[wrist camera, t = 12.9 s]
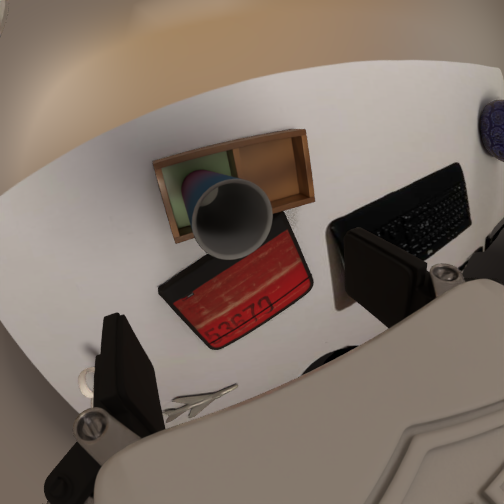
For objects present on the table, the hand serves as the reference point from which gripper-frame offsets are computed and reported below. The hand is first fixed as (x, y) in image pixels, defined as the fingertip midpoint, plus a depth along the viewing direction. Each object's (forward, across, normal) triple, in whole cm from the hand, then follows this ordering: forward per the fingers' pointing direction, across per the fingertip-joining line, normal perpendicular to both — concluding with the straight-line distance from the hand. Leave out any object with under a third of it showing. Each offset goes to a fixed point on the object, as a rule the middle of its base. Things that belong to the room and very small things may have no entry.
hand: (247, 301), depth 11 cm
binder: (+29, -6, +18) cm, 35 cm away
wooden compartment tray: (+29, -8, +2) cm, 30 cm away
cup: (+28, -3, +2) cm, 28 cm away
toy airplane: (+29, +10, +41) cm, 51 cm away
